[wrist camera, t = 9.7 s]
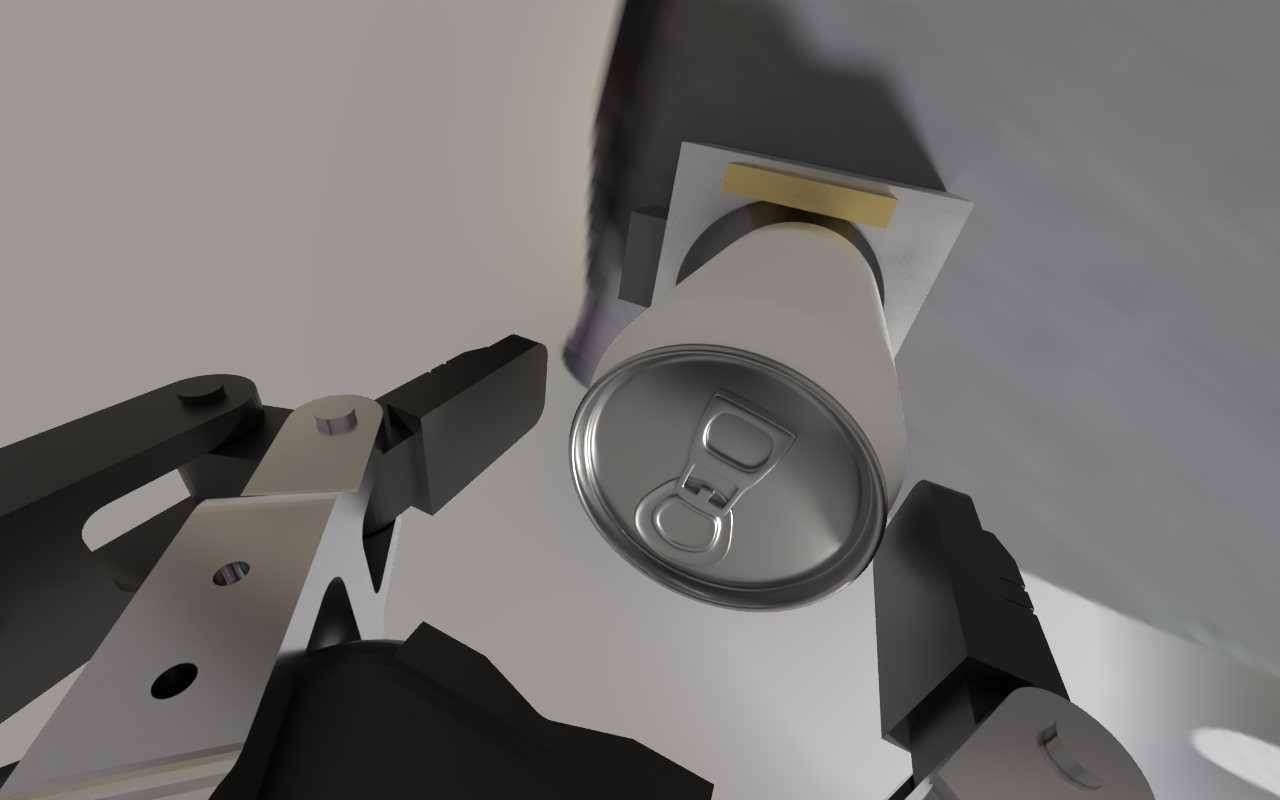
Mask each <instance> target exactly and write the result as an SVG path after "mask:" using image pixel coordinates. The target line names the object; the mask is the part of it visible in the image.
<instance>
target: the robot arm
mask: <svg viewBox="0 0 1280 800" xmlns="http://www.w3.org/2000/svg"><path fill="white" fill-rule="evenodd" d="M547 358H548V353H547V348H546V347H545V345H543V344H541V343H538V342H535V341H532V340H530V339H527V338H524V337H521V336H518V335H514V334H513V335H510V336H508V337H506V338H504V339H502V340H500V341H499V342H497V343H495V344H493V345H491V346H490V347H484V348H480V349H476V350H472V351H468V352H464V353H462V354H460V355H458V356H456V357H454V358H453V359H451V360H449V361H447V362H446V364H441V365H439V366H438V367H436V368H434V369H432V370H431V372H430V373H429V372H427V373H424V374H423V375H421V376H419V377H417V378H415V379H413V380H411V381H409V382H407V383H406V384H404V385H402V386H400V387H398V388H396V389H394V390H392V391H391V392H389V393H387V394H385V395H383V396H381V397H380V398H377V399H376V400H372V399H370V398H367V397H363V396H356V395H336V396H329V397H324V398H321V399H317V400H314V401H311V402H309V403H306V404H304V405H302V406H300V407H299V408H298V409H296V410H292V409H285V408H279V407H272V406H266V405H262V403H261V400H260V397H259V394H258V391H257V388H256V386H255V384H254V382H252V381H251V380H249V379H247V378H245V377H242V376H237V375H229V374H214V375H204V376H197V377H193V378H188V379H184V380H181V381H178V382H175V383H172V384H169V385H166V386H164V387H161V388H159V389H156V390H153V391H151V392H148V393H145V394H143V395H140V396H137V397H135V398H132V399H129V400H127V401H124V402H122V403H119V404H116V405H114V406H111V407H108V408H106V409H103V410H100V411H98V412H95V413H92V414H90V415H87V416H85V417H82V418H79V419H76V420H74V421H71V422H69V423H66V424H63V425H61V426H58V427H55V428H53V429H50V430H47V431H45V432H42V433H39V434H37V435H34V436H32V437H29V438H26V439H24V440H21V441H19V442H16V443H13V444H10V445H8V446H5V447H3V448H0V724H1V723H2V722H4V721H5V720H6V719H8V718H9V717H11V716H12V715H13V714H15V713H16V712H18V711H19V710H20V709H22V708H23V707H25V706H26V705H27V704H29V703H30V702H32V701H33V700H34V699H36V698H37V697H38V696H40V695H41V694H43V693H44V692H46V691H47V690H48V689H50V688H51V687H52V686H54V685H55V684H57V683H58V682H59V681H61V680H62V679H64V678H65V677H67V676H68V675H69V674H71V673H72V672H73V671H75V670H76V669H77V668H79V667H80V666H82V665H83V664H85V663H86V662H87V661H89V660H90V661H89V662H88V664H87V665H86V667H85V668H84V669H83V671H82V673H81V674H80V675H79V677H78V678H77V680H76V681H75V682H74V684H73V685H72V687H71V688H70V690H69V691H68V693H67V694H66V695H65V697H64V698H63V700H62V701H61V703H60V704H59V706H58V707H57V709H56V710H55V711H54V713H53V714H52V716H51V717H50V719H49V720H48V721H47V723H46V725H45V726H44V727H43V729H42V730H41V732H40V733H39V735H38V736H37V737H36V739H35V740H34V742H33V743H32V745H31V746H30V747H29V749H28V750H27V752H26V753H25V755H24V756H23V758H22V759H21V760H20V761H17V762H14V763H12V764H9V765H6V766H4V767H1V768H0V800H711V797H712V792H713V787H714V784H712V783H710V782H708V781H707V780H705V779H703V778H701V777H699V776H698V775H696V774H694V773H692V772H690V771H689V770H687V769H685V768H683V767H682V766H680V765H678V764H676V763H675V762H673V761H671V760H669V759H667V758H666V757H664V756H662V755H660V754H659V753H657V752H655V751H653V750H651V749H649V748H648V747H646V746H644V745H642V744H641V743H639V742H637V741H635V740H634V739H630V738H626V737H621V736H617V735H613V734H608V733H603V732H599V731H595V730H590V729H586V728H582V727H577V726H573V725H568V724H564V723H559V722H554V721H551V720H548V719H546V718H544V717H543V716H541V715H540V714H539V713H538V712H536V710H535V709H534V708H533V707H532V706H531V705H530V704H529V703H528V702H527V701H526V700H525V698H524V697H523V696H522V695H521V694H520V693H519V692H518V691H517V690H516V689H515V688H514V686H513V685H512V684H511V683H510V682H509V681H508V680H507V679H506V678H505V677H504V676H503V675H502V674H501V672H500V671H499V670H498V669H497V668H496V667H495V666H494V665H493V664H492V663H491V662H490V661H489V660H488V658H487V657H486V656H484V655H482V654H480V653H479V652H477V651H475V650H473V649H471V648H470V647H468V646H466V645H465V644H462V643H461V642H459V641H457V640H456V639H454V638H452V637H450V636H449V635H447V634H445V633H443V632H441V631H440V630H438V629H436V628H434V627H432V626H431V625H429V624H427V623H425V622H422V623H421V624H420V625H419V626H418V628H417V629H416V630H415V631H414V632H413V633H412V634H411V635H410V636H409V638H408V639H407V640H406V641H402V640H388V639H384V610H385V603H386V598H387V593H388V589H389V584H390V579H391V574H392V569H393V564H394V559H395V554H396V550H397V545H398V540H399V535H400V530H401V525H402V520H401V513H403V512H404V511H405V510H406V509H407V508H409V507H410V506H413V507H416V508H417V509H419V510H421V511H424V512H425V513H427V514H430V515H432V516H433V515H434V514H435V513H436V512H437V511H438V510H440V509H441V508H442V507H443V506H444V505H445V504H446V503H448V502H449V501H450V500H451V499H452V498H453V497H454V496H456V495H457V494H458V493H459V492H460V491H461V490H462V489H463V488H465V487H466V486H467V485H468V484H469V483H470V482H471V481H473V480H474V479H475V478H476V477H477V476H478V475H479V474H480V473H482V472H483V471H484V470H485V469H486V468H487V467H488V466H490V464H492V463H493V462H494V461H495V460H496V459H497V458H499V457H500V456H501V455H502V454H503V453H504V452H505V451H507V450H508V449H509V448H510V447H511V446H512V445H513V444H514V443H516V442H517V441H518V440H519V439H520V438H521V437H522V436H523V435H525V434H526V433H527V432H528V431H529V430H530V429H532V428H533V426H535V424H536V423H537V422H538V420H539V418H540V416H541V414H542V412H543V408H544V404H545V391H546V375H547ZM175 469H178V471H179V473H180V475H181V477H182V479H183V481H184V483H185V485H186V487H187V489H188V490H189V493H190V495H191V496H190V497H188V498H186V499H184V500H182V501H181V502H179V503H177V504H176V505H174V506H172V507H170V508H168V509H167V510H165V511H163V512H161V513H160V514H158V515H156V516H154V517H153V518H151V519H150V520H147V521H146V522H144V523H142V524H140V525H138V526H137V527H135V528H133V529H131V530H130V531H128V532H126V533H124V534H123V535H121V536H119V537H117V538H116V539H114V540H112V541H110V542H109V543H107V544H105V545H103V546H102V547H100V548H98V549H97V550H94V551H93V552H91V550H90V549H89V548H88V546H86V544H85V542H84V541H83V539H82V529H83V526H84V524H85V522H86V521H87V520H88V519H89V517H90V516H91V515H92V514H93V513H94V512H96V511H97V510H98V509H100V508H101V507H103V506H105V505H107V504H108V503H110V502H112V501H114V500H116V499H118V498H120V497H122V496H124V495H126V494H128V493H130V492H132V491H134V490H136V489H138V488H140V487H141V486H144V485H146V484H147V483H149V482H151V481H153V480H155V479H157V478H159V477H161V476H163V475H165V474H167V473H169V472H171V471H173V470H175ZM873 574H874V591H875V592H874V594H875V613H876V634H877V652H878V673H879V693H880V711H881V731H882V739H884V740H886V741H888V742H890V743H892V744H894V745H896V746H898V747H900V748H902V749H904V750H906V751H908V752H910V753H911V757H912V768H913V773H911V774H910V775H909V776H908V777H906V778H905V779H904V780H903V781H902V782H901V783H900V784H899V785H898V786H897V787H896V788H895V789H894V790H893V791H892V792H891V793H890V794H889V795H888V796H887V797H886V798H885V799H884V800H1155V798H1154V795H1153V793H1152V790H1151V788H1150V786H1149V783H1148V782H1147V780H1146V778H1145V776H1144V775H1143V773H1142V771H1141V770H1140V768H1139V767H1138V765H1137V764H1136V762H1135V761H1134V760H1133V758H1132V757H1131V756H1130V754H1129V753H1128V752H1127V751H1126V750H1125V748H1124V747H1123V746H1122V745H1121V744H1120V743H1119V742H1118V741H1117V739H1116V738H1115V737H1114V736H1113V735H1112V734H1111V733H1110V732H1109V731H1108V730H1106V728H1104V727H1103V726H1102V725H1101V724H1100V723H1099V722H1098V721H1097V720H1095V719H1094V718H1093V717H1092V716H1090V715H1089V714H1088V713H1087V712H1085V711H1084V710H1082V709H1081V708H1079V707H1078V706H1077V705H1075V704H1073V703H1072V702H1071V701H1070V699H1069V696H1068V694H1067V691H1066V689H1065V686H1064V683H1063V681H1062V678H1061V676H1060V673H1059V671H1058V668H1057V666H1056V663H1055V661H1054V658H1053V655H1052V653H1051V650H1050V648H1049V645H1048V643H1047V640H1046V638H1045V635H1044V633H1043V630H1042V628H1041V625H1040V622H1039V620H1038V618H1037V616H1036V615H1034V614H1033V611H1034V607H1033V605H1032V602H1031V600H1030V597H1029V595H1028V593H1027V592H1025V591H1024V589H1025V584H1024V582H1023V579H1022V577H1021V574H1020V572H1019V569H1018V567H1017V564H1016V562H1015V560H1014V559H1013V557H1012V556H1011V555H1010V554H1009V552H1008V551H1007V550H1006V549H1005V547H1004V546H1003V545H1002V544H1001V543H1000V541H999V540H998V539H997V538H996V536H995V535H994V534H993V533H990V532H988V531H985V530H982V527H981V524H980V521H979V518H978V515H977V513H976V510H975V507H974V504H973V501H972V499H971V497H970V496H968V495H966V494H963V493H961V492H958V491H955V490H952V489H949V488H946V487H944V486H941V485H938V484H935V483H932V482H929V481H927V480H921V481H919V482H918V483H917V484H916V485H915V486H914V487H913V489H912V490H911V492H910V493H909V495H908V496H907V498H906V499H905V501H904V502H903V504H902V505H901V507H900V508H899V510H898V511H897V513H896V514H895V516H894V517H893V519H892V520H891V522H890V523H889V525H888V526H887V528H886V529H885V532H884V536H883V539H882V541H881V544H880V546H879V549H878V551H877V553H876V554H875V556H874V560H873Z"/></svg>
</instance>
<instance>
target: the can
mask: <svg viewBox="0 0 1280 800" xmlns="http://www.w3.org/2000/svg"><path fill="white" fill-rule="evenodd" d="M906 456H907V434H906V425H905V418H904V410H903V405H902V400H901V394H900V389H899V384H898V379H897V374H896V369H895V364H894V359H893V354H892V350H891V345H890V340H889V336H888V331H887V326H886V322H885V317H884V313H883V308H882V304H881V299H880V295H879V291H878V287H877V284H876V280H875V278H874V275H873V272H872V270H871V268H870V266H869V264H868V263H867V261H866V259H865V258H864V257H863V255H862V254H861V253H860V252H859V250H858V249H857V248H856V247H855V246H854V245H853V244H852V243H850V242H849V241H848V240H847V239H845V238H844V237H842V236H841V235H839V234H838V233H836V232H834V231H832V230H830V229H827V228H825V227H822V226H818V225H815V224H810V223H803V222H784V223H777V224H772V225H768V226H765V227H762V228H759V229H756V230H754V231H752V232H750V233H748V234H746V235H744V236H743V237H741V238H740V239H738V240H737V241H735V242H734V243H732V244H731V245H729V246H728V247H727V248H725V249H724V250H723V251H721V252H720V253H719V254H717V255H716V256H715V257H713V258H712V259H711V260H709V261H708V262H707V263H705V264H704V265H703V266H702V267H700V268H699V269H698V270H696V271H695V272H694V273H692V274H691V275H690V276H688V277H687V278H686V279H685V280H683V281H682V282H681V283H679V284H678V285H677V286H676V287H674V288H673V289H672V290H670V291H669V292H668V293H667V294H665V295H664V296H663V297H661V298H660V299H659V300H658V301H656V302H655V303H654V304H653V305H651V306H650V307H649V308H648V309H646V310H645V311H644V312H643V313H642V314H640V315H639V316H638V317H637V318H636V319H635V320H633V321H632V322H631V323H630V324H629V325H628V326H627V327H626V328H625V329H624V330H623V331H622V332H621V333H620V334H619V335H618V336H617V337H616V339H615V340H614V341H613V342H612V343H611V345H610V346H609V347H608V349H607V350H606V352H605V353H604V355H603V356H602V358H601V360H600V362H599V364H598V366H597V368H596V370H595V373H594V376H593V379H592V382H591V385H590V389H589V390H588V392H587V393H586V395H585V396H584V398H583V399H582V401H581V403H580V405H579V407H578V409H577V411H576V414H575V416H574V419H573V422H572V426H571V430H570V436H569V465H570V471H571V476H572V480H573V484H574V487H575V490H576V493H577V495H578V498H579V500H580V502H581V504H582V506H583V508H584V510H585V512H586V514H587V516H588V517H589V519H590V521H591V522H592V524H593V525H594V526H595V528H596V529H597V530H598V532H599V533H600V535H601V536H602V537H603V538H604V540H605V541H606V542H607V543H608V544H609V545H610V546H611V547H612V548H613V549H614V550H615V551H616V552H617V553H618V554H619V555H620V556H621V557H622V558H623V559H624V560H625V561H627V562H628V563H629V564H630V565H631V566H633V567H634V568H635V569H637V570H638V571H639V572H641V573H642V574H644V575H645V576H647V577H648V578H650V579H651V580H653V581H654V582H656V583H658V584H660V585H661V586H663V587H665V588H667V589H669V590H671V591H673V592H675V593H677V594H680V595H682V596H684V597H687V598H689V599H692V600H695V601H698V602H701V603H704V604H708V605H711V606H715V607H720V608H724V609H730V610H736V611H745V612H778V611H785V610H792V609H797V608H801V607H805V606H809V605H812V604H815V603H817V602H820V601H822V600H825V599H827V598H829V597H831V596H833V595H835V594H836V593H838V592H840V591H841V590H843V589H844V588H846V587H847V586H848V585H850V584H851V583H852V582H853V581H854V580H856V579H857V578H858V577H859V576H860V575H861V573H862V572H863V571H864V570H865V569H866V568H867V567H868V565H869V563H870V562H871V561H872V559H873V558H874V556H875V554H876V553H877V551H878V549H879V546H880V544H881V541H882V539H883V536H884V532H885V527H886V523H887V515H888V513H889V511H890V509H891V508H892V506H893V504H894V502H895V500H896V498H897V496H898V493H899V491H900V488H901V485H902V482H903V478H904V473H905V467H906Z"/></svg>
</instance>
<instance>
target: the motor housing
mask: <svg viewBox="0 0 1280 800" xmlns="http://www.w3.org/2000/svg"><path fill="white" fill-rule="evenodd" d="M974 204H975V203H974V202H971V201H969V200H966V199H964V198H961V197H959V196H956V195H954V194H951V193H948V192H945V191H940V190H935V189H930V188H925V187H921V186H916V185H911V184H906V183H901V182H897V181H892V180H887V179H882V178H877V177H872V176H868V175H863V174H858V173H853V172H848V171H844V170H839V169H834V168H829V167H824V166H820V165H815V164H810V163H805V162H800V161H796V160H791V159H786V158H781V157H776V156H772V155H767V154H762V153H757V152H752V151H748V150H743V149H738V148H733V147H728V146H724V145H719V144H713V143H699V142H685V141H682V145H681V150H680V156H679V161H678V166H677V171H676V177H675V182H674V187H673V193H672V198H671V203H670V208H667V207H663V206H659V205H652V206H648V207H644V208H640V209H637V210H633V211H631V216H630V223H629V229H628V236H627V243H626V250H625V256H624V263H623V270H622V277H621V283H620V290H619V297H618V299H621V300H625V301H628V302H631V303H634V304H638V305H641V306H644V307H647V308H649V307H650V306H651V305H653V304H654V303H655V302H656V301H658V300H659V299H660V298H661V297H663V296H664V295H665V294H667V293H668V292H669V291H670V290H672V289H673V288H674V287H676V286H677V285H678V284H679V283H681V282H682V281H683V280H685V279H686V278H687V277H688V276H690V275H691V274H692V273H694V272H695V271H696V270H698V269H699V268H700V267H702V266H703V265H704V264H705V263H707V262H708V261H709V260H711V259H712V258H713V257H715V256H716V255H717V254H719V253H720V252H721V251H723V250H724V249H725V248H727V247H728V246H729V245H731V244H732V243H734V242H735V241H737V240H738V239H740V238H741V237H743V236H744V235H746V234H748V233H750V232H752V231H754V230H756V229H759V228H762V227H765V226H768V225H772V224H777V223H784V222H803V223H810V224H815V225H818V226H822V227H825V228H827V229H830V230H832V231H834V232H836V233H838V234H839V235H841V236H842V237H844V238H845V239H847V240H848V241H849V242H850V243H852V244H853V245H854V246H855V247H856V248H857V249H858V250H859V252H860V253H861V254H862V255H863V257H864V258H865V259H866V261H867V263H868V264H869V266H870V268H871V270H872V272H873V275H874V278H875V280H876V284H877V287H878V291H879V295H880V299H881V304H882V308H883V313H884V317H885V322H886V326H887V331H888V336H889V340H890V345H891V350H892V354H893V359H894V358H895V356H896V354H897V352H898V350H899V348H900V346H901V344H902V342H903V340H904V339H905V337H906V335H907V333H908V331H909V329H910V327H911V325H912V323H913V321H914V319H915V317H916V315H917V314H918V312H919V310H920V308H921V306H922V304H923V302H924V300H925V298H926V296H927V294H928V292H929V291H930V289H931V287H932V285H933V283H934V281H935V279H936V277H937V275H938V273H939V271H940V269H941V268H942V266H943V264H944V262H945V260H946V258H947V256H948V254H949V252H950V250H951V248H952V246H953V245H954V243H955V241H956V239H957V237H958V235H959V233H960V231H961V229H962V227H963V225H964V223H965V222H966V220H967V218H968V216H969V214H970V212H971V210H972V208H973V206H974Z"/></svg>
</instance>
